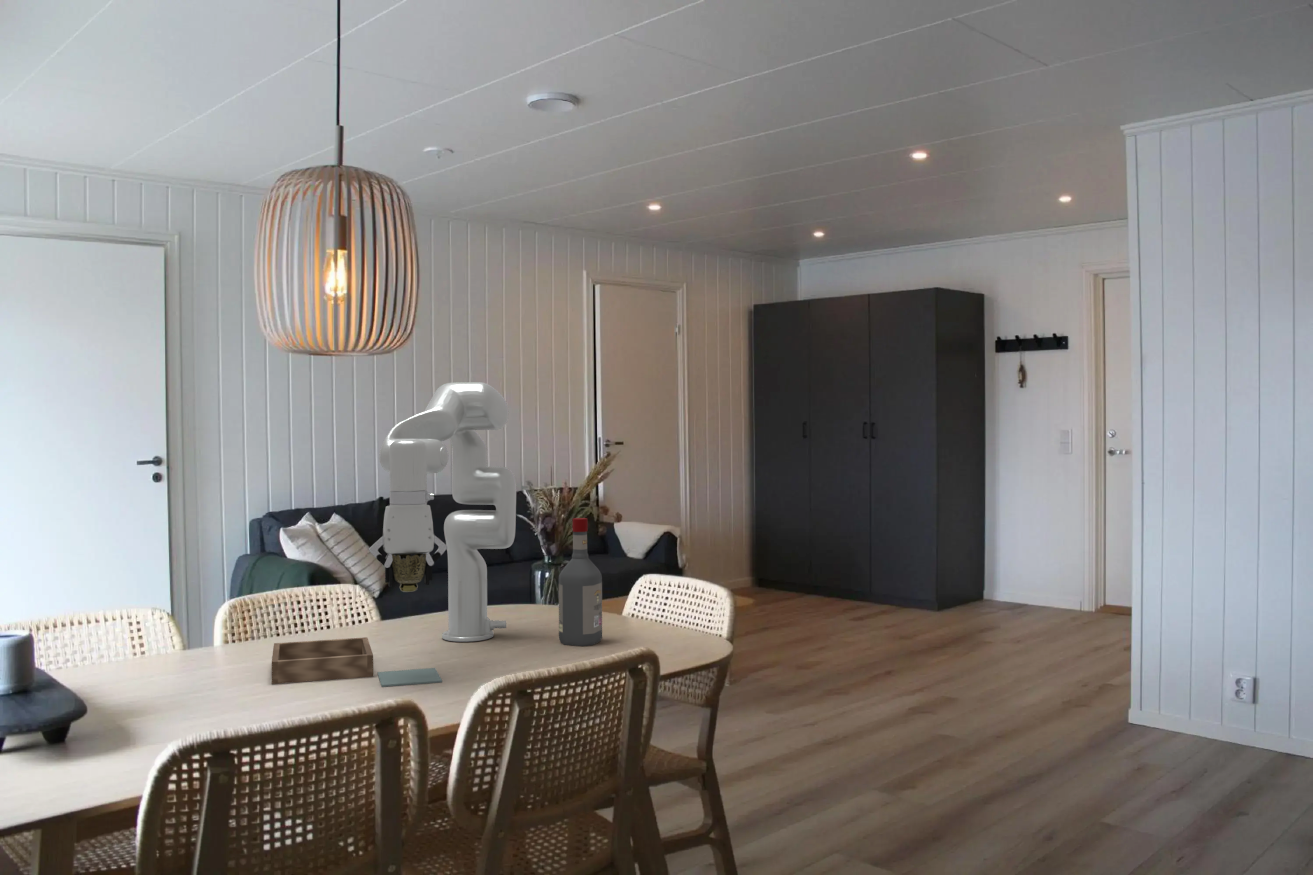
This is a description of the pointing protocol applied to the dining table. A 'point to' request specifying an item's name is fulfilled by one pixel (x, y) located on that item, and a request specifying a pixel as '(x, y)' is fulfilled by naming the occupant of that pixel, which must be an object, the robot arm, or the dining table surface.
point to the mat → (409, 677)
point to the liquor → (580, 594)
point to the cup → (408, 570)
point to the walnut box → (321, 660)
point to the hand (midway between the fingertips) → (408, 584)
